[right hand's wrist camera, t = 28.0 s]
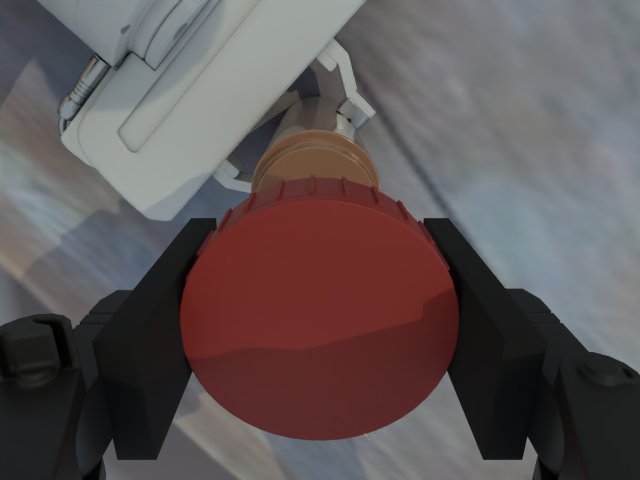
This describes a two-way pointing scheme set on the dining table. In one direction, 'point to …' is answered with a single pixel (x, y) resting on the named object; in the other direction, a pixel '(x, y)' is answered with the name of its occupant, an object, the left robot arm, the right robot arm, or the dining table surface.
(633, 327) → the dining table surface
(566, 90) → the dining table surface
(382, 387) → the lid
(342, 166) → the jar
